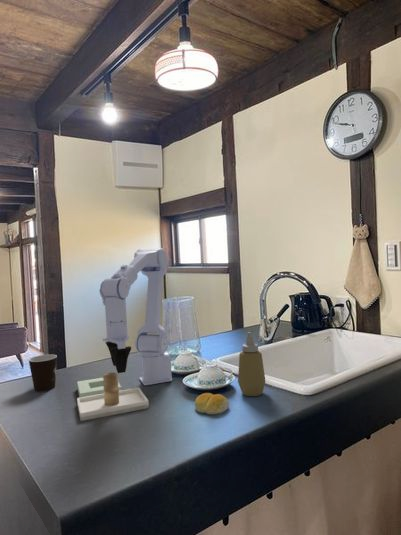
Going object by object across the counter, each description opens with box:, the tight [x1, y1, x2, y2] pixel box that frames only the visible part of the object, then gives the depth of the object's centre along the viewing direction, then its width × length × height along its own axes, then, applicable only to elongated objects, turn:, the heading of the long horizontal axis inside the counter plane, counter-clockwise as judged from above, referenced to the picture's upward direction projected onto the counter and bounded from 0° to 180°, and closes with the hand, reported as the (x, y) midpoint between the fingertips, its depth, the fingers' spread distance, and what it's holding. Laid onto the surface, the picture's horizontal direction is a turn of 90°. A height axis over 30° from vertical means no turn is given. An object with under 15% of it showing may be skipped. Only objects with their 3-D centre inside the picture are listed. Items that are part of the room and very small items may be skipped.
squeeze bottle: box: [237, 331, 266, 397], centre depth 114 cm, size 8×8×18 cm
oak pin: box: [102, 372, 119, 406], centre depth 109 cm, size 4×4×8 cm
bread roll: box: [194, 392, 230, 415], centre depth 104 cm, size 8×9×4 cm
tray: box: [76, 387, 150, 422], centre depth 109 cm, size 18×12×2 cm, turn 111°
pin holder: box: [76, 377, 122, 398], centre depth 121 cm, size 12×12×2 cm
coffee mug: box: [28, 354, 58, 393], centre depth 129 cm, size 12×9×10 cm
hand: (119, 368), depth 110 cm, fingers open, 7 cm apart
